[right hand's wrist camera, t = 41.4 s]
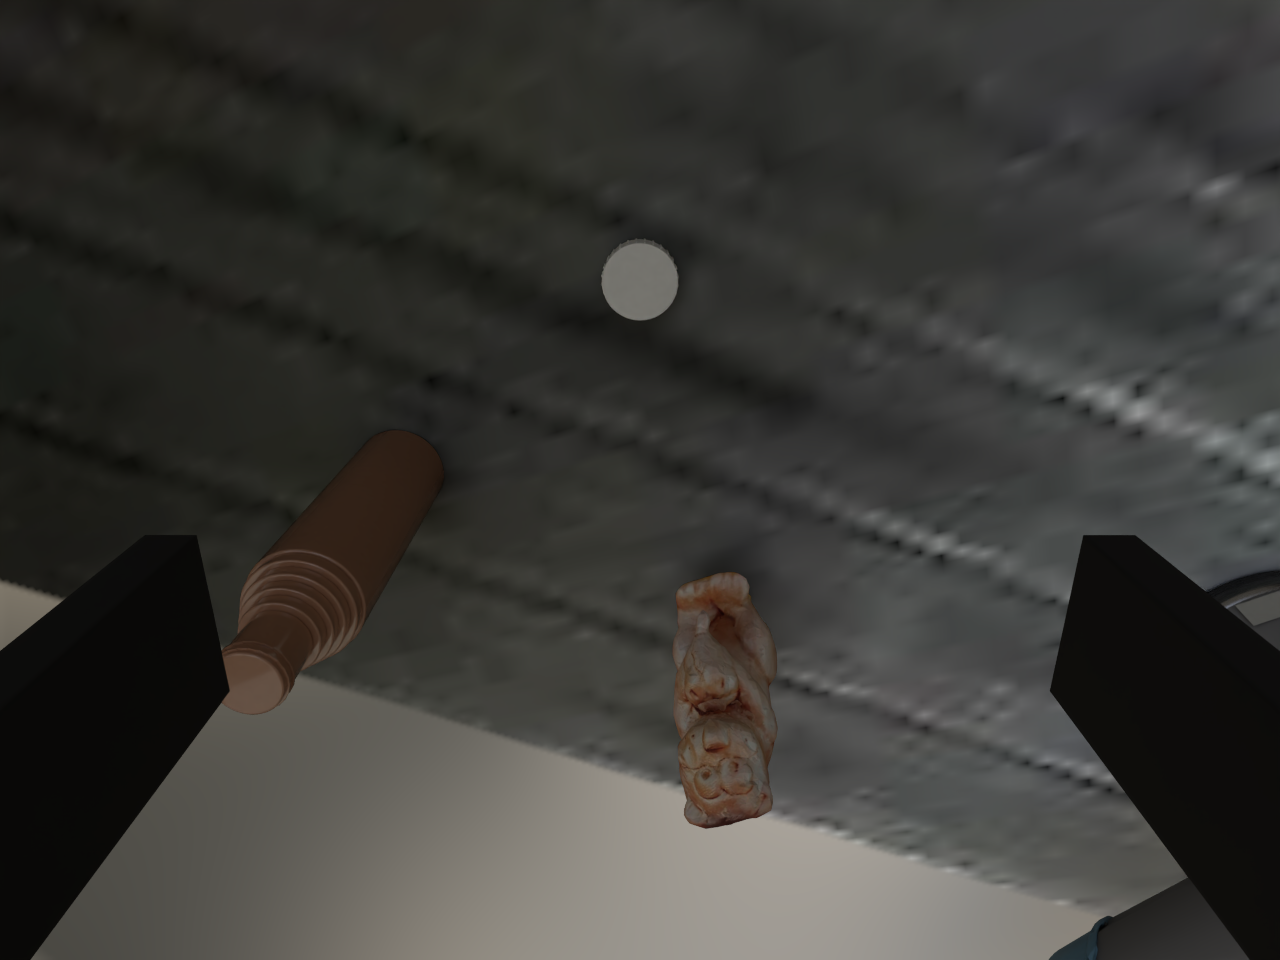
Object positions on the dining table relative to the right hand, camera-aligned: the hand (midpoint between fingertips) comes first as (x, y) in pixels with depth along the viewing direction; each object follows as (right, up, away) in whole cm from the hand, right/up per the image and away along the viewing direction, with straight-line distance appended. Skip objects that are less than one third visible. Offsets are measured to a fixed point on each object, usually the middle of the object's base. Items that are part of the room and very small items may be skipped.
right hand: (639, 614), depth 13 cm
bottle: (-14, +3, +35) cm, 38 cm away
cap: (0, +12, +30) cm, 32 cm away
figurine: (+4, -6, +38) cm, 39 cm away
